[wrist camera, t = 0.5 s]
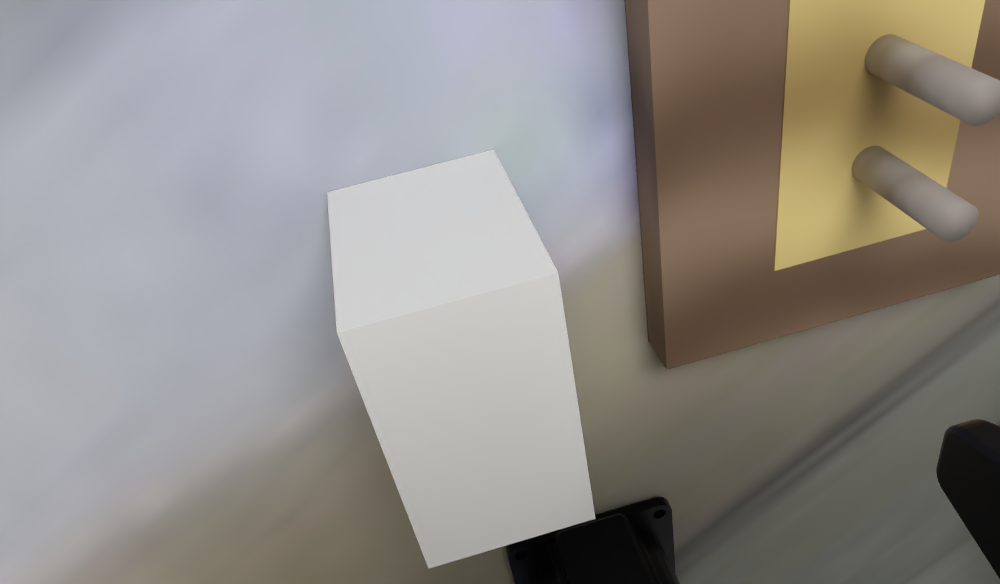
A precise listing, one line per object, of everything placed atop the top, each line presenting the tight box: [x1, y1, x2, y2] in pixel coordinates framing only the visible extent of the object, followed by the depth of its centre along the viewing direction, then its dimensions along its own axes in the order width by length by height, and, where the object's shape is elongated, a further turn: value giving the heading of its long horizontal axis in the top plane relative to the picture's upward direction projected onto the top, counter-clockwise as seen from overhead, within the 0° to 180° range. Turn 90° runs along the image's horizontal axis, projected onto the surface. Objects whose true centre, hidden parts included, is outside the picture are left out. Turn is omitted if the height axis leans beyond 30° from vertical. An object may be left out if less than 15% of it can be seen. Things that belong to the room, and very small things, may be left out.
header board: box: [625, 0, 1000, 369], centre depth 19 cm, size 14×12×5 cm
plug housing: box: [327, 149, 595, 568], centre depth 19 cm, size 8×4×6 cm, turn 10°
